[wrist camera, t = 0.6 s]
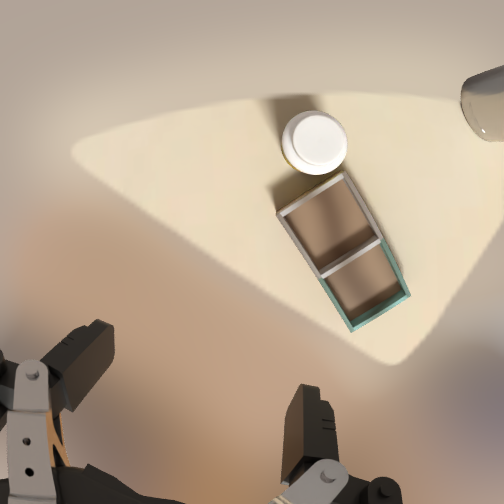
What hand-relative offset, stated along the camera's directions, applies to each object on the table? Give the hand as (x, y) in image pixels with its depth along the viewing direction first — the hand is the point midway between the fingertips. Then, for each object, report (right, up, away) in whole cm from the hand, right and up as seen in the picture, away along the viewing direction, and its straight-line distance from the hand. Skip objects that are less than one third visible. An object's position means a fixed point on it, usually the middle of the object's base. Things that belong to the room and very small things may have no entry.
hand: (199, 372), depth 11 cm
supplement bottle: (+8, +16, +19) cm, 26 cm away
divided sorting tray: (+13, +5, +22) cm, 26 cm away
